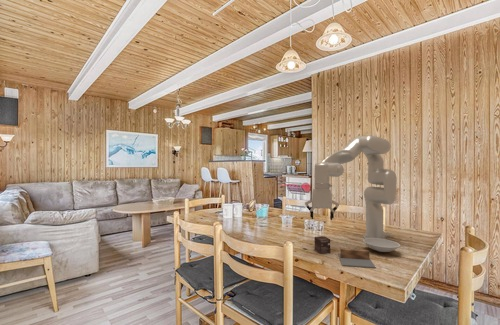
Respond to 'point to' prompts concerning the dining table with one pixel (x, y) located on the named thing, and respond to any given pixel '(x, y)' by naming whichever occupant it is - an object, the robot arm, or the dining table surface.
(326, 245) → the box
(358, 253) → the walnut rail
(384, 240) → the dish
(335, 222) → the dining table surface
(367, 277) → the dining table surface
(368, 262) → the rubber mat
